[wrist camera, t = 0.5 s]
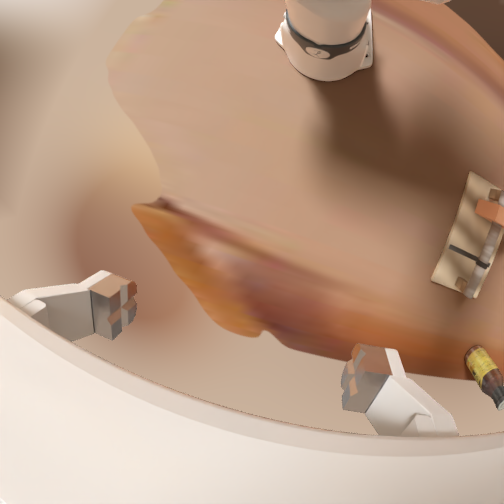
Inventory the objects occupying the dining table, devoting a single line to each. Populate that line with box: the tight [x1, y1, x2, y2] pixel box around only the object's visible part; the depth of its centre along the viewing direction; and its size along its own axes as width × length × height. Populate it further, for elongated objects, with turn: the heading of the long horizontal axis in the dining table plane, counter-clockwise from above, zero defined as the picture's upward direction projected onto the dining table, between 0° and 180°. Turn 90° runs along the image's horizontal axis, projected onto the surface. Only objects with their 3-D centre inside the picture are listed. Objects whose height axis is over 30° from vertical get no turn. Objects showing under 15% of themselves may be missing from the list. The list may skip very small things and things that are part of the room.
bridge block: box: [474, 199, 504, 229], centre depth 39 cm, size 3×8×8 cm, turn 74°
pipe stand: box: [431, 171, 504, 299], centre depth 43 cm, size 24×14×7 cm, turn 164°
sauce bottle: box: [465, 345, 504, 410], centre depth 45 cm, size 6×6×20 cm
